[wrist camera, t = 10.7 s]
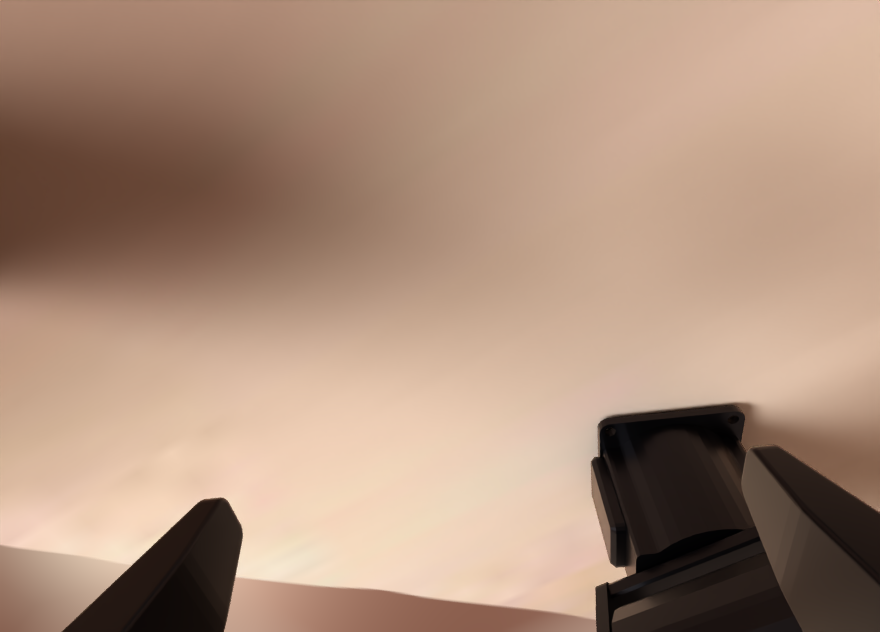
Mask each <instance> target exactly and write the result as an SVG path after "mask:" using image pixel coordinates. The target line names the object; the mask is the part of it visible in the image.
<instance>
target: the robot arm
mask: <svg viewBox="0 0 880 632" xmlns="http://www.w3.org/2000/svg"><path fill="white" fill-rule="evenodd" d="M731 416H733V417H731ZM729 417H731V418H729ZM744 421H745V415H744V414H743V412H742V411H741V410H740V408H739V407H737V406H722V407H712V408H703V409H693V410H683V411H674V412H664V413H654V414H645V415H635V416H626V417H616V418H607V419H604V420H602V421H601V422H600V423H599V424H598V457H594V458H593V460H592V461H591V482H592V497H593V501H594V504H595V508H596V512H597V516H598V519H599V523H600V527H601V530H602V534H603V538H604V542H605V545H606V549H607V553H608V557H609V560H610V563H611V564H612V565H614V566H615V567H625V570H626V573H627V577H625V578H623V579H620V580H618V581H615V582H613V583H610V584H609V583H608V582H606V583H604V584H601V585H599V586H597V587H596V588H595V589H596V624H597V625H596V626H597V632H880V512H878V511H877V510H875V509H874V508H872V507H871V506H869V505H867V504H866V503H864V502H863V501H861V500H860V499H858V498H857V497H855V496H854V495H852V494H851V493H849V492H848V491H846V490H845V489H843V488H842V487H840V486H839V485H837V484H836V483H834V482H833V481H831V480H830V479H828V478H827V477H825V476H824V475H822V474H820V473H819V472H817V471H816V470H814V469H813V468H811V467H810V466H808V465H807V464H805V463H804V462H802V461H801V460H799V459H798V458H796V457H795V456H793V455H792V454H790V453H789V452H787V451H786V450H784V449H783V448H781V447H779V446H776V445H764V446H753V447H750V448H749V449H748V450H747V452H746V450H745V449H744V447H743V445H742V444H741V439H742V433H743V427H744ZM609 428H612V429H611V430H607V429H609ZM242 538H243V532H242V527H241V524H240V522H239V520H238V519H237V517H236V515H235V513H234V511H233V509H232V508H231V506H230V504H229V502H228V501H227V500H226V499H224V498H211V499H204V500H202V501H200V502H199V503H197V504H196V505H195V506H194V507H193V508H192V509H191V510H190V511H189V512H188V513H187V514H186V515H185V516H184V517H182V518H181V519H180V520H179V521H178V522H177V523H176V524H175V525H174V526H173V527H172V528H171V529H170V530H169V531H168V532H167V533H166V534H164V535H163V536H162V537H161V538H160V539H159V540H158V541H157V542H156V543H155V544H154V545H153V546H152V547H151V548H150V549H149V550H148V551H147V552H145V553H144V554H143V555H142V556H141V557H140V558H139V559H138V560H137V561H136V562H135V563H134V564H133V565H132V566H131V567H130V568H129V569H128V570H127V571H125V572H124V573H123V574H122V575H121V576H120V577H119V578H118V579H117V580H116V581H115V582H114V583H113V584H112V585H111V586H110V587H109V588H107V589H106V590H105V591H104V592H103V593H102V594H101V595H100V596H99V597H98V598H97V599H96V600H95V601H94V602H93V603H92V604H91V605H89V606H88V607H87V608H86V609H85V610H84V611H83V612H82V613H81V614H80V615H79V616H78V617H77V618H76V619H75V620H74V621H73V622H72V623H71V624H69V625H68V626H67V627H66V628H65V629H64V630H63V631H62V632H224V629H225V625H226V621H227V616H228V611H229V606H230V602H231V596H232V591H233V586H234V581H235V576H236V570H237V565H238V560H239V555H240V550H241V544H242Z"/></svg>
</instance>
